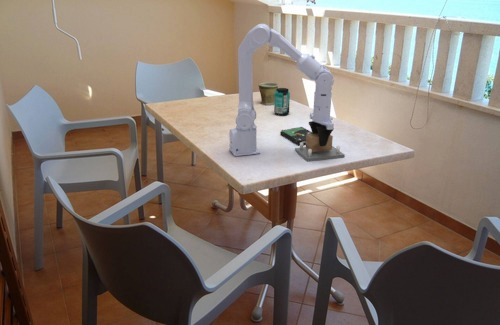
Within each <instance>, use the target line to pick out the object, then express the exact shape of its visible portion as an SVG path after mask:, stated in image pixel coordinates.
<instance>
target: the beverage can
mask: <svg viewBox="0 0 500 325" xmlns="http://www.w3.org/2000/svg"><path fill="white" fill-rule="evenodd" d="M290 97H291V92H290V91H289V88H286V87H278V88H277V89H276V92H275V103H274V104H273V106H274V107H273V108H274V110H273V111H274V112H273V113H274V114H275V115H276V116H279V117H284V116H288V114H290V100H291V98H290Z"/></svg>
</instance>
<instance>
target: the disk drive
mask: <svg viewBox="0 0 500 325" xmlns="http://www.w3.org/2000/svg"><path fill="white" fill-rule="evenodd" d="M307 134H312V130H311V131H310V130H309V129H307V128H305V127H303V126H298V127H292V128H288V129H281V131H280V136H281V137H283V138H285V139H286V140H288V141H289V142H290V143H293V144H294V145H296V146H298V147H300V142H303V146H306V135H307Z"/></svg>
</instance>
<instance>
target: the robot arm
mask: <svg viewBox="0 0 500 325" xmlns="http://www.w3.org/2000/svg"><path fill="white" fill-rule="evenodd" d="M267 44H268V47H274V48H277V49H279V50H281V51H282V52H283V53H285V54H286V55H287V56H288V57H290V58H291V59H292V60H293V61H295V62H296V68H297V69H298V70H299V71H300V72H301V73H303V74H304V75H305V76H306V77H307V78H309V79H310V81H314V83H315V90H314V94H313V96H314V97H313V112H310V114H309V119H310V120H312V121H308V126H309V127H310V129H311V132H312V134H317V133H318V134H319V144H320V146H326V144H327V141H328V138H329V136H330V135H332V132H333V131H334V129H335V128H334V123H333V122H332V121H333V119H334V117H332V116H331V107H332V106H331V105H332V94H333V93H332V89H333V87H332V86H333V85H334V82H335V80H334V77H333V74H332V72H331V71H330V70H329V69H328V68H327V67H326V65H324V64H323V65H322V64H321V63H320V62H319V61H317V59H316V57H315V55H313V54H309V53H302V52H301V51H300V50H299V49H298V48H296V46H294V44H292V43H291V42H290V41H289V40H287V38H286V37H284V36H283V35H282V34H281V33H280V32H278V31H276V30H275V29H274V28H271V27H270V26H269V25H268V24H267V23H259V24H257V25H255V26H254V27H253V28H251V29H250V30H249V31H248V32H247V33H246V35H245V37H244V38H243V39H242V41H241V43H240V44H239V46H238V48H237V60H238V61H237V62H238V64H237V65H238V106H237V108H238V110H237V113H238V114H237V116H236V117H235V124H236V126H235V128H231V129H230V130H229V136H228V137H229V149H228V150H230V153H231V154H232V155H233V156H234V157H241V156H250V155H259V154H261V152H260V151H259V149H258V148H257V125H256V124H255V121H256V119H257V111H256V110H255V104H254V94H253V93H254V89H253V87H254V86H253V83H254V82H253V80H254V79H253V78H254V76H253V73H254V71H253V54H254V53H255V52H256V51H257V50H258V49H259V48H261V47H264V46H266V45H267Z"/></svg>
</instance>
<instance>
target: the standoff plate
mask: <svg viewBox="0 0 500 325" xmlns="http://www.w3.org/2000/svg"><path fill="white" fill-rule="evenodd" d="M340 150H341V146H340V145H336V147H335V146H333V145H332V150H326V151H317V152H312V149H308V150H307V149H306V146H304V145H303V142H300V146H299V147H296V148H294V151H295V153H297V154H298V155H299V156H300V157H301V158H303V159H304V160H305V161H306V162H314V161H315V162H316V161H323V160H333V159H340V158H345V156H346V154H344V153H343V152H342V151H340Z"/></svg>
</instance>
